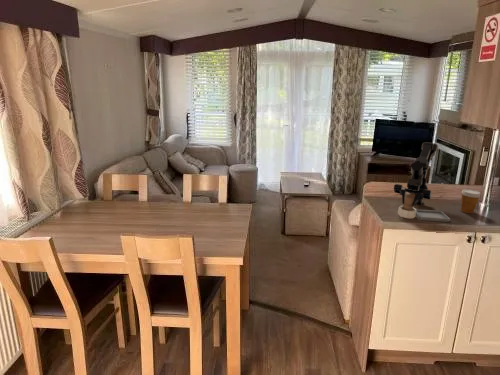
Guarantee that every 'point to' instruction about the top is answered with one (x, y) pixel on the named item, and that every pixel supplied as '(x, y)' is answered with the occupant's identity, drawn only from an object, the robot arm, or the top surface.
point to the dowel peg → (408, 201)
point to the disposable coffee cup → (469, 200)
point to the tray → (432, 215)
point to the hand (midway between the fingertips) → (407, 204)
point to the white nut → (406, 213)
